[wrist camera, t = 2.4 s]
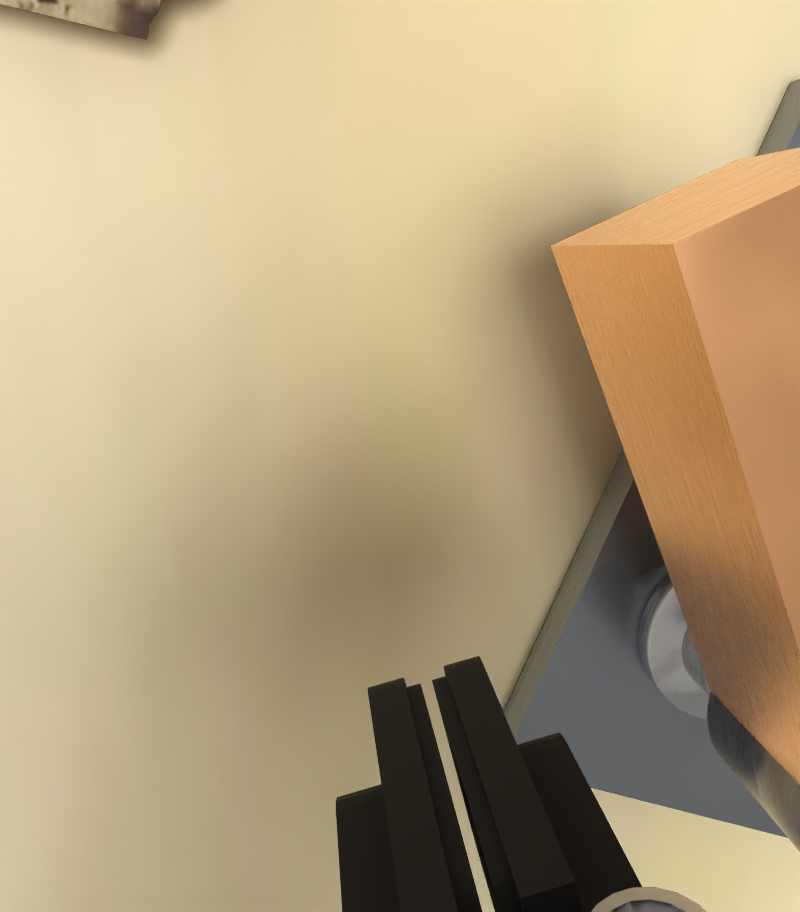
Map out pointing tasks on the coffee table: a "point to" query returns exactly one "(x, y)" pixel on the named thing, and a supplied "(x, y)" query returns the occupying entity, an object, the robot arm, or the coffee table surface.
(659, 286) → the orange boxy piece
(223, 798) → the coffee table surface
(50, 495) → the coffee table surface
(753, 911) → the coffee table surface
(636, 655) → the post base
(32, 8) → the stone
